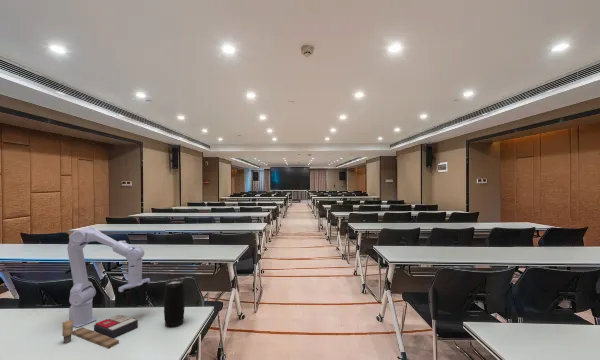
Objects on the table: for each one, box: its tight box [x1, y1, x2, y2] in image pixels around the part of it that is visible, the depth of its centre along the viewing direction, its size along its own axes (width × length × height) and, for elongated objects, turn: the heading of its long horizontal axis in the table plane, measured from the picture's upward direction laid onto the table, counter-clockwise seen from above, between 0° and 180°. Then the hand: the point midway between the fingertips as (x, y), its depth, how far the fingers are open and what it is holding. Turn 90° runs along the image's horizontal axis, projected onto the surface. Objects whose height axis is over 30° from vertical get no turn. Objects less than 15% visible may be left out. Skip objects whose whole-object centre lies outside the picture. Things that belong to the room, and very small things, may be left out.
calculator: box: [93, 314, 139, 339], centre depth 123 cm, size 11×4×15 cm
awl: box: [61, 319, 74, 344], centre depth 113 cm, size 3×3×8 cm
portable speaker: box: [163, 278, 186, 328], centre depth 128 cm, size 9×9×20 cm
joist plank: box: [71, 326, 120, 349], centre depth 115 cm, size 26×4×1 cm, turn 65°
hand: (134, 301), depth 132 cm, fingers open, 6 cm apart
